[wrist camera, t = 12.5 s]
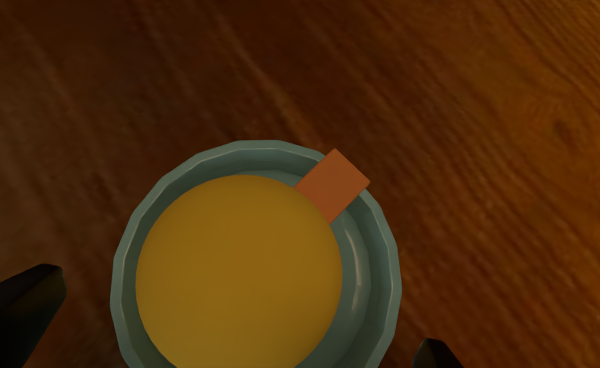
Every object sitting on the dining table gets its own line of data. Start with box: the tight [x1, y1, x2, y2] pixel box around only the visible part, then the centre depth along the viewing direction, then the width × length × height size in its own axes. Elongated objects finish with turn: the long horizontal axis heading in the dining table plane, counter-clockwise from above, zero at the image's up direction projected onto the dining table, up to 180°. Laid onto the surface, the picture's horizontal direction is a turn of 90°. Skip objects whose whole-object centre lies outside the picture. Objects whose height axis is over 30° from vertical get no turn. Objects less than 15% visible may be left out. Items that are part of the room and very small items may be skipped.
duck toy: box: [135, 148, 370, 368], centre depth 12 cm, size 6×6×14 cm
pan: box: [110, 140, 402, 368], centre depth 17 cm, size 13×13×4 cm
